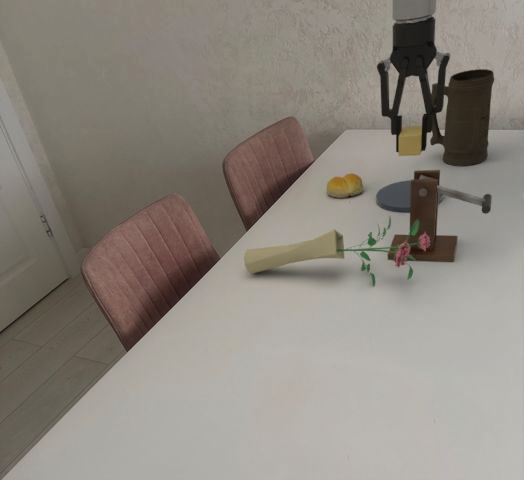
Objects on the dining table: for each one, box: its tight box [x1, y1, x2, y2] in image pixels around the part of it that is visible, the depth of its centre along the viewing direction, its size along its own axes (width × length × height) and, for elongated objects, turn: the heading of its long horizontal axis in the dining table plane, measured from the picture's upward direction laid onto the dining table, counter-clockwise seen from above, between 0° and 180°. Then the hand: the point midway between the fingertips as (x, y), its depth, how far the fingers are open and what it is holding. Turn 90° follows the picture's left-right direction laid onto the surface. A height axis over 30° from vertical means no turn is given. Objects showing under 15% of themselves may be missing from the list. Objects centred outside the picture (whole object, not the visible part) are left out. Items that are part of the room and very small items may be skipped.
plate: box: [375, 179, 445, 213], centre depth 115 cm, size 15×15×1 cm
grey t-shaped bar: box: [419, 175, 493, 215], centre depth 88 cm, size 13×5×2 cm, turn 69°
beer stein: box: [429, 68, 495, 167], centre depth 123 cm, size 15×11×20 cm
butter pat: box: [398, 125, 422, 157], centre depth 104 cm, size 6×4×4 cm
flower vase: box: [243, 216, 430, 287], centre depth 92 cm, size 12×12×35 cm
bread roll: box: [325, 173, 364, 199], centre depth 123 cm, size 8×9×4 cm
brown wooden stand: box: [387, 169, 459, 263], centre depth 92 cm, size 12×8×15 cm, turn 69°
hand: (411, 148), depth 105 cm, fingers closed on butter pat, 4 cm apart
